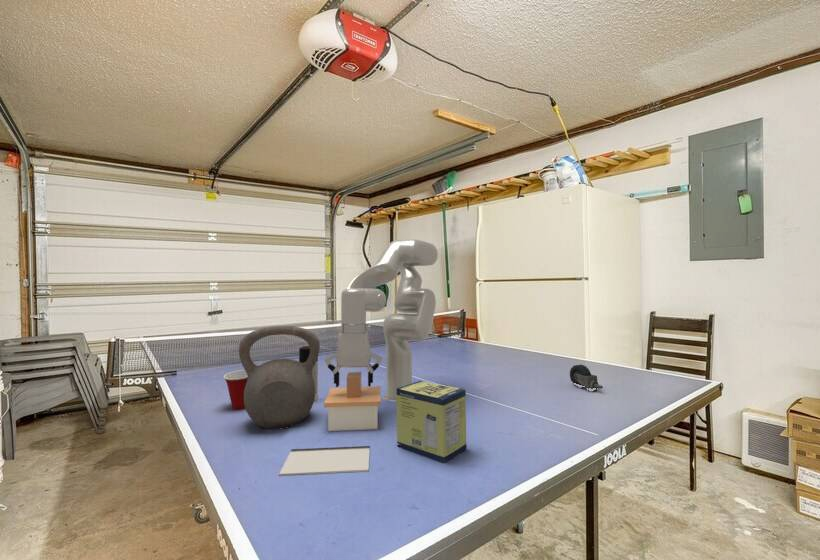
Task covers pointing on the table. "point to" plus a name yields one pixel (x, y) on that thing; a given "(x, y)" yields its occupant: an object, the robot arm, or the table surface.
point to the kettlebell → (279, 381)
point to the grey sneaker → (583, 377)
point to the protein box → (431, 420)
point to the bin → (352, 418)
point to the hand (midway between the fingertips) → (353, 385)
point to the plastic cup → (236, 387)
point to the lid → (353, 394)
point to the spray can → (303, 357)
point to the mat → (326, 460)
